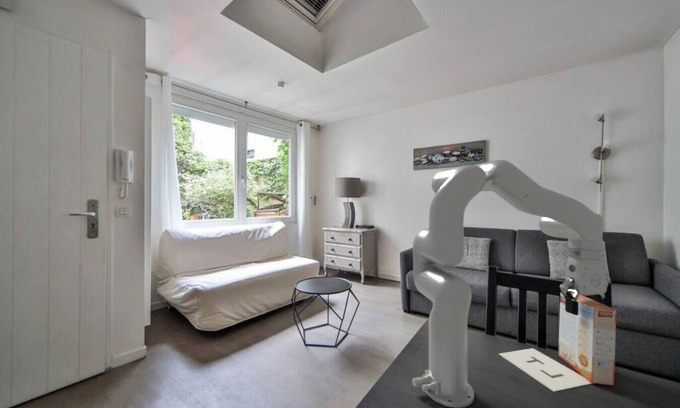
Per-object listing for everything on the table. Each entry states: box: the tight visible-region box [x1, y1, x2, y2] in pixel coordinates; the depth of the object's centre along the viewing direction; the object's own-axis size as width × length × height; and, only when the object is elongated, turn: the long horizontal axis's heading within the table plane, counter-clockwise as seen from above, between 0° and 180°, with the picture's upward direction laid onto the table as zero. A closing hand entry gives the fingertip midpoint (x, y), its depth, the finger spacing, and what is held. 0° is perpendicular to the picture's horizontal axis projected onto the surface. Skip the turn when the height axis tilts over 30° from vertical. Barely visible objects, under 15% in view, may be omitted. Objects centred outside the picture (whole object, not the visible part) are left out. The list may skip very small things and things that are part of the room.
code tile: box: [498, 347, 594, 392], centre depth 81 cm, size 14×18×1 cm
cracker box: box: [557, 292, 617, 387], centre depth 80 cm, size 14×6×21 cm, turn 171°
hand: (584, 311), depth 80 cm, fingers open, 9 cm apart
